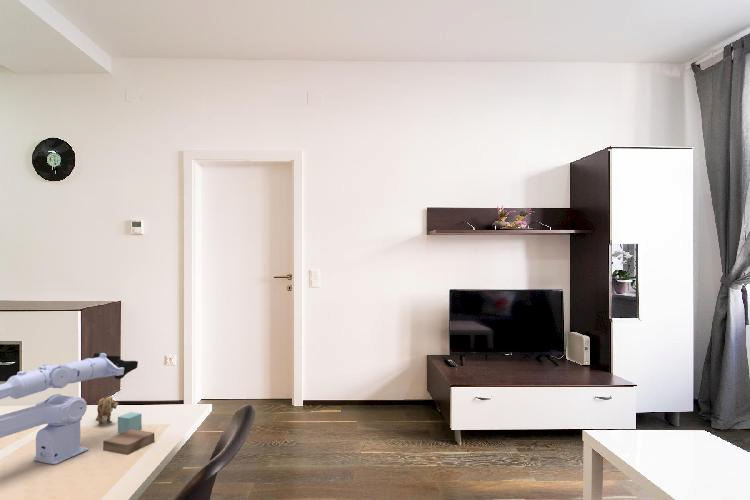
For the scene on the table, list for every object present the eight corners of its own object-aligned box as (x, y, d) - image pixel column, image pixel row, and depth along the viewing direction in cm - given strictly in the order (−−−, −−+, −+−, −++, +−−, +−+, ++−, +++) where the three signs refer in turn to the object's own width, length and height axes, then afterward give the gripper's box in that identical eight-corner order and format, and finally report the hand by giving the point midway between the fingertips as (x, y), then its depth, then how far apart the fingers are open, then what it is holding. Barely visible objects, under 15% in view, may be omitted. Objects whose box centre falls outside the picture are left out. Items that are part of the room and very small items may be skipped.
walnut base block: (127, 454, 121) (127, 445, 121) (103, 449, 124) (103, 440, 124) (154, 441, 130) (154, 432, 130) (131, 437, 133) (131, 428, 133)
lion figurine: (119, 424, 143) (119, 396, 143) (100, 429, 139) (100, 400, 140) (107, 413, 154) (107, 387, 154) (89, 417, 150) (89, 390, 150)
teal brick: (129, 435, 135) (128, 418, 135) (117, 433, 136) (117, 416, 136) (141, 429, 139) (141, 413, 139) (130, 428, 140) (130, 412, 140)
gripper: (106, 361, 125) (146, 353, 138) (70, 351, 130) (112, 344, 143) (102, 386, 125) (143, 376, 138) (67, 375, 130) (109, 367, 143)
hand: (127, 362), depth 140 cm, fingers open, 7 cm apart
